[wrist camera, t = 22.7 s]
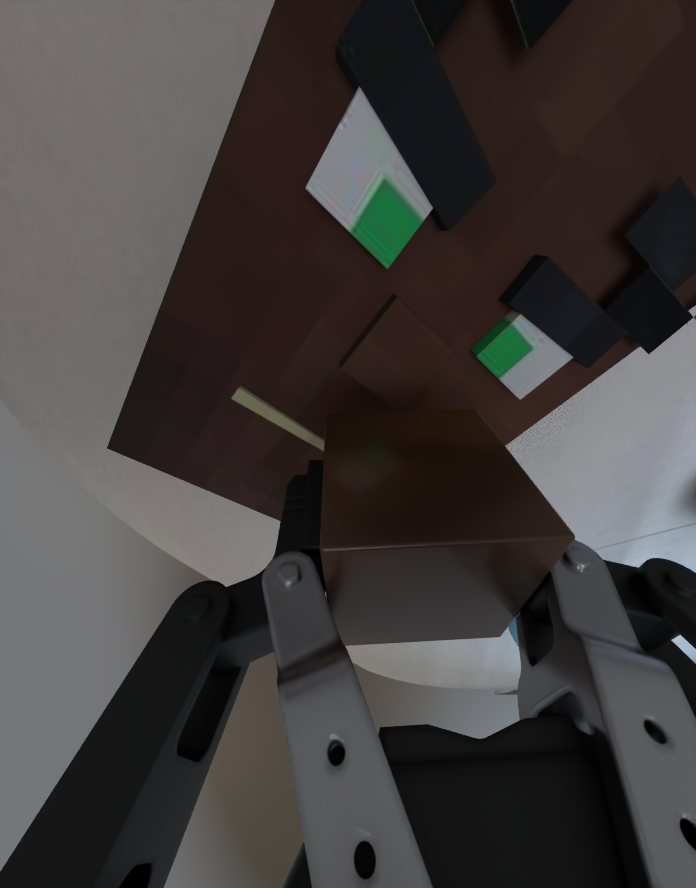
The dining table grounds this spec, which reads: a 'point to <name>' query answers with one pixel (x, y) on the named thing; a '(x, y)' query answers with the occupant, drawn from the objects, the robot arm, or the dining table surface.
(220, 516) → the dining table surface
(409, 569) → the walnut block
